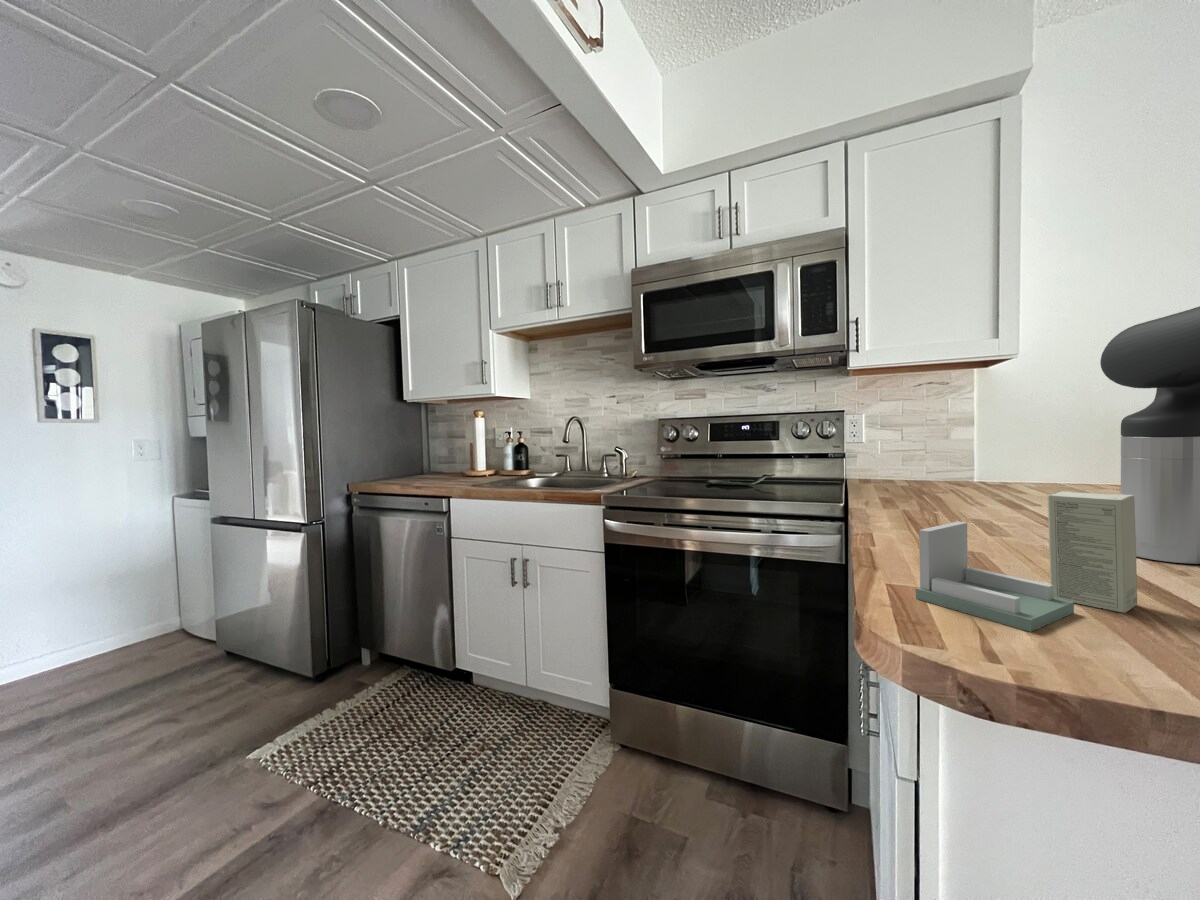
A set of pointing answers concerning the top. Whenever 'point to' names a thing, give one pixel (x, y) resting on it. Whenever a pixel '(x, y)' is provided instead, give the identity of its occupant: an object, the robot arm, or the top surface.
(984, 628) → the top surface
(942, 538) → the deck socket
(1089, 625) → the top surface
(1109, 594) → the skincare box
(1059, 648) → the top surface
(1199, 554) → the robot arm
